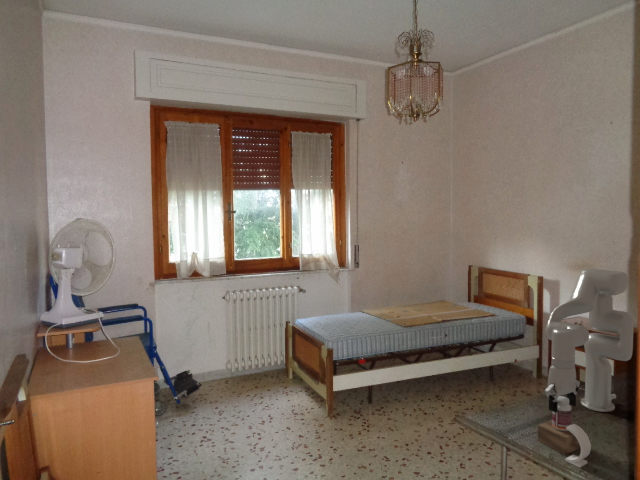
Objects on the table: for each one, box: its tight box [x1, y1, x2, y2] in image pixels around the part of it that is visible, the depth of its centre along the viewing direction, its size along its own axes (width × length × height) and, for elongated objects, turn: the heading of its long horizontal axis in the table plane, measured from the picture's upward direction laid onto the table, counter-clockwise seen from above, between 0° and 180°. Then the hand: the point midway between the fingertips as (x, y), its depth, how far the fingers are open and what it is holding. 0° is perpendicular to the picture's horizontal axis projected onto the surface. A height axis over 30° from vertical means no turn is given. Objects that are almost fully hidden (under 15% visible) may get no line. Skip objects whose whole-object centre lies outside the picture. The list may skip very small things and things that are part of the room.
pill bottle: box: [551, 395, 572, 431], centre depth 171 cm, size 6×6×11 cm
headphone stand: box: [564, 423, 592, 468], centre depth 159 cm, size 5×6×12 cm
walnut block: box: [537, 420, 587, 455], centre depth 172 cm, size 11×11×6 cm
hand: (562, 407), depth 171 cm, fingers open, 9 cm apart
